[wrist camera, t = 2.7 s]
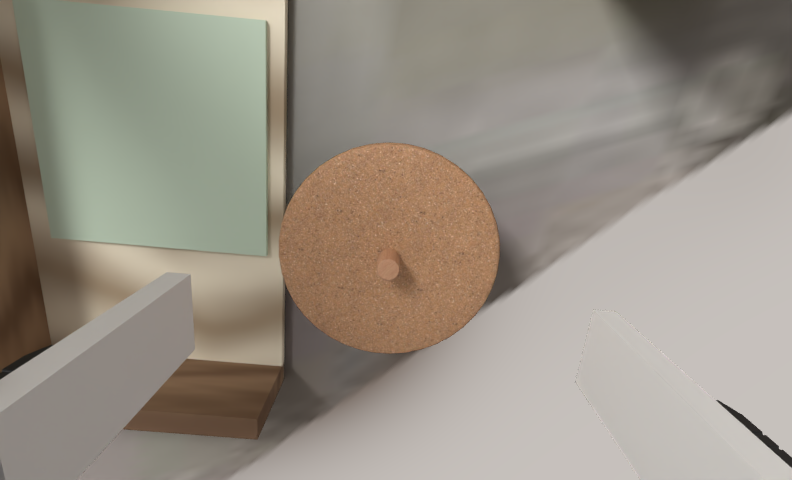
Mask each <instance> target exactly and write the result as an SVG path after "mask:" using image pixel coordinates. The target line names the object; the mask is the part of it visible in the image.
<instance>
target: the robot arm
mask: <svg viewBox="0 0 792 480" xmlns="http://www.w3.org/2000/svg"><path fill="white" fill-rule="evenodd" d="M194 350H195V340H194V323H193V306H192V289H191V274H183V273H171V272H166V273H165V274H163V275H162V276H160V277H159V278H157V279H155V280H154V281H152V282H151V283H149V284H148V285H146V286H145V287H143V288H141V289H140V290H138V291H137V292H135V293H134V294H132V295H131V296H129V297H127V298H126V299H124V300H123V301H121V302H120V303H118V304H117V305H115V306H114V307H112V308H110V309H109V310H107V311H106V312H104V313H103V314H101V315H100V316H98V317H96V318H95V319H93V320H92V321H90V322H89V323H87V324H86V325H84V326H82V327H81V328H79V329H78V330H76V331H75V332H73V333H72V334H70V335H69V336H67V337H65V338H64V339H62V340H61V341H59V342H58V343H56V344H55V345H49V346H47V347H44V348H42V349H39V350H37V351H34V352H32V353H29V354H27V355H24V356H23V357H21V358H20V359H18V360H16V361H15V362H13V363H12V364H10V365H8V366H7V367H5V368H4V369H2V372H0V480H77V479H78V478H79V477H80V476H81V475H82V473H83V472H84V471H85V470H86V469H87V468H88V467H89V466H90V465H91V464H92V462H93V461H94V460H95V459H96V458H97V457H98V456H99V455H100V454H101V453H102V451H103V450H104V449H105V448H106V447H107V446H108V445H109V444H110V443H111V441H112V440H113V439H114V438H115V437H116V436H117V435H118V434H119V433H120V432H121V430H122V429H123V428H124V427H125V426H126V425H127V424H128V423H129V422H130V420H131V419H132V418H133V417H134V416H135V415H136V414H137V413H138V412H139V411H140V409H141V408H142V407H143V406H144V405H145V404H146V403H147V402H148V401H149V400H150V398H151V397H152V396H153V395H154V394H155V393H156V392H157V391H158V390H159V388H160V387H161V386H162V385H163V384H164V383H165V382H166V381H167V380H168V379H169V377H170V376H171V375H172V374H173V373H174V372H175V371H176V370H177V369H178V367H179V366H180V365H181V364H182V363H183V362H184V361H185V360H186V359H187V358H188V356H189V355H190V354H191V353H192V352H193V351H194ZM575 382H576V384H577V385H578V387H579V388H580V390H581V391H582V393H583V394H584V396H585V397H586V399H587V400H588V402H589V403H590V405H591V407H592V408H593V410H594V411H595V412H596V414H597V415H598V417H599V418H600V420H601V422H602V423H603V424H604V426H605V427H606V429H607V431H608V432H609V434H610V435H611V437H612V438H613V440H614V441H615V443H616V444H617V446H618V447H619V449H620V450H621V452H622V453H623V455H624V456H625V458H626V459H627V461H628V462H629V464H630V466H631V467H632V469H633V470H634V471H635V473H636V475H637V476H638V477H639V479H640V480H792V457H790V456H789V455H788V454H787V453H786V452H785V451H784V450H780V449H779V446H778V445H776V444H775V443H774V442H773V441H772V440H771V439H770V438H769V437H767V436H766V435H763V434H762V431H760V430H759V429H758V428H757V427H756V426H755V425H753V424H752V423H751V422H750V421H749V420H748V419H746V418H745V417H744V416H743V415H742V414H740V413H738V412H737V411H735V410H733V409H731V408H730V407H728V406H727V405H725V404H723V403H722V402H720V401H718V400H715V399H714V398H713V397H711V396H710V395H709V394H708V393H707V392H706V391H705V390H704V389H702V388H701V387H700V386H699V385H698V384H697V383H696V382H695V381H694V380H692V379H691V378H690V377H689V376H688V375H687V374H686V373H684V372H683V371H682V370H681V369H680V368H679V367H678V366H677V365H675V363H673V362H672V361H671V360H670V359H669V358H668V357H667V356H666V355H664V354H663V353H662V352H661V351H660V350H659V349H658V348H657V347H655V346H654V345H653V344H652V343H651V342H650V341H649V340H648V339H647V338H645V337H644V336H643V335H642V334H641V333H639V331H638V330H636V329H635V328H634V327H633V326H632V325H631V324H630V323H629V322H628V321H626V320H625V319H624V318H623V317H622V316H621V315H620V314H619V313H617V312H615V311H604V310H593V313H592V316H591V321H590V325H589V329H588V332H587V337H586V340H585V345H584V349H583V353H582V357H581V361H580V365H579V369H578V373H577V377H576V381H575Z"/></svg>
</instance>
